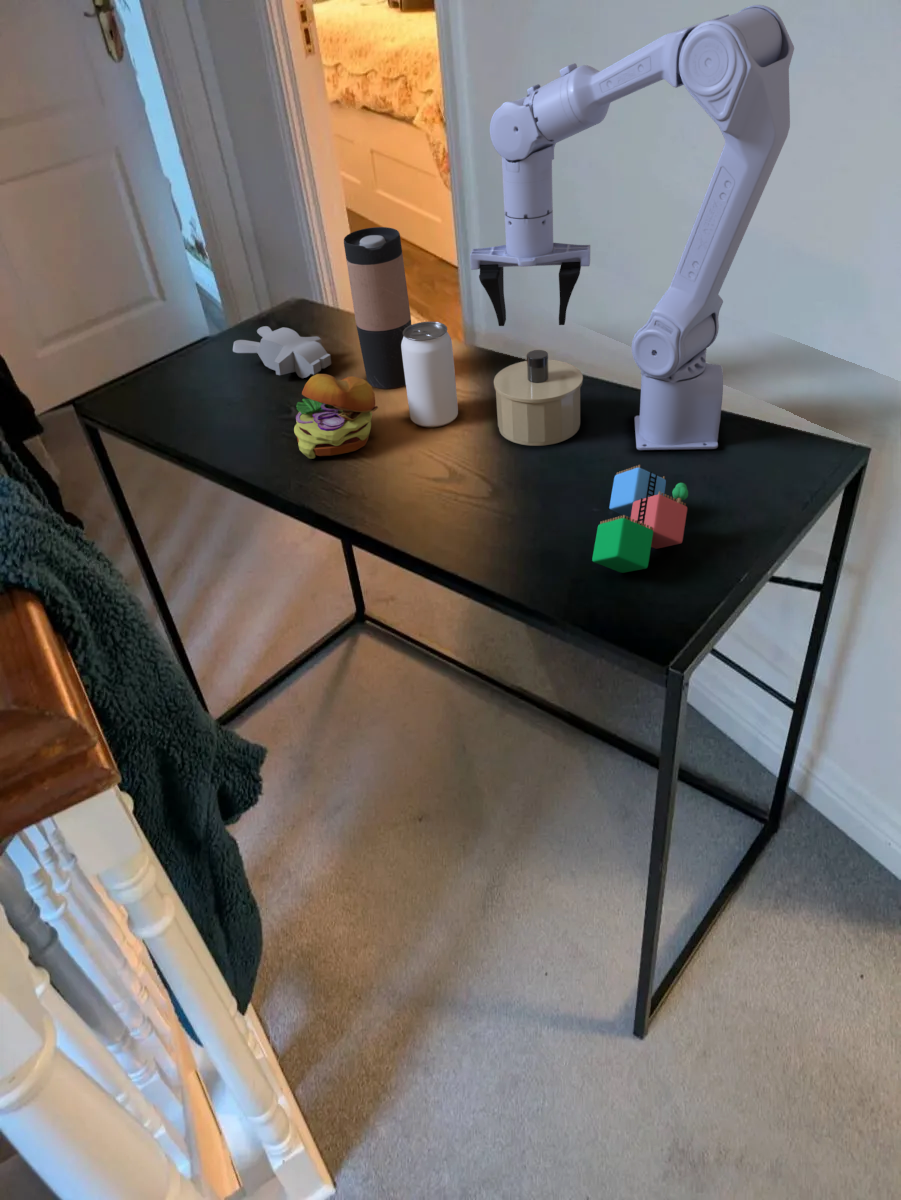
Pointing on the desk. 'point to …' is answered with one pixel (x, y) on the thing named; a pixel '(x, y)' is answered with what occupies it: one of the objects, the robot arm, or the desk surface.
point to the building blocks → (639, 520)
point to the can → (429, 374)
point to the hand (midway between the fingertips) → (532, 322)
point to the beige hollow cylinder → (538, 420)
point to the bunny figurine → (287, 351)
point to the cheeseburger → (334, 415)
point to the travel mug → (379, 302)
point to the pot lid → (538, 379)
